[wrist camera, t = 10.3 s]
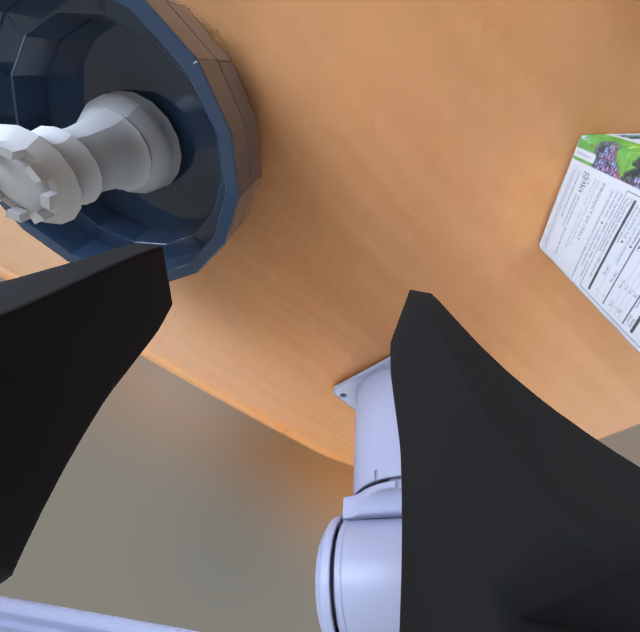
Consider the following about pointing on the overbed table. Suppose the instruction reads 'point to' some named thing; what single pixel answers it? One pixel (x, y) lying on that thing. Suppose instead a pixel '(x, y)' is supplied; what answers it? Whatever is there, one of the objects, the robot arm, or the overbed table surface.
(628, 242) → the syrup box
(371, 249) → the overbed table surface
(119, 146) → the rook chess piece
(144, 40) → the bowl
